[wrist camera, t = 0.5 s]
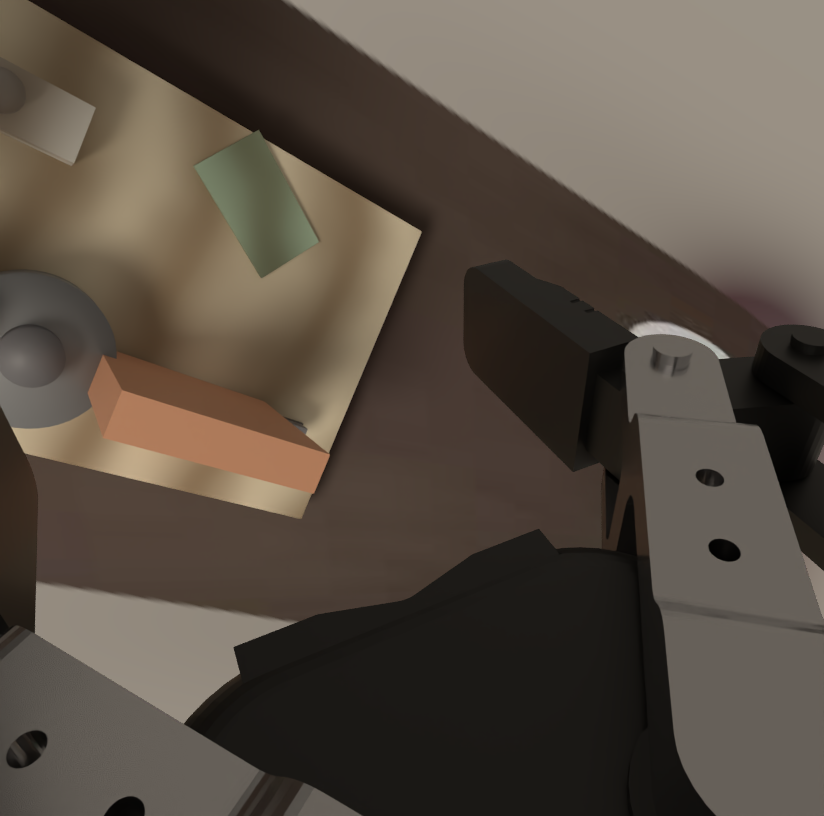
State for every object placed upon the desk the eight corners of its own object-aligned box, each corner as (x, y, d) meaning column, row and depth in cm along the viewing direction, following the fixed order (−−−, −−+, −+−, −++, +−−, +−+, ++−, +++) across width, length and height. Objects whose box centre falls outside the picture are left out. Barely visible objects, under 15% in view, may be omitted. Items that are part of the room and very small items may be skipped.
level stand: (-231, 376, 27) (-286, 412, 22) (-72, -51, 26) (-94, -108, 21) (289, 505, 40) (324, 545, 35) (406, 227, 39) (458, 230, 34)
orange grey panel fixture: (-152, 368, 26) (-223, 434, 18) (-95, 217, 25) (-144, 221, 18) (275, 482, 36) (340, 554, 29) (319, 376, 36) (397, 420, 28)
